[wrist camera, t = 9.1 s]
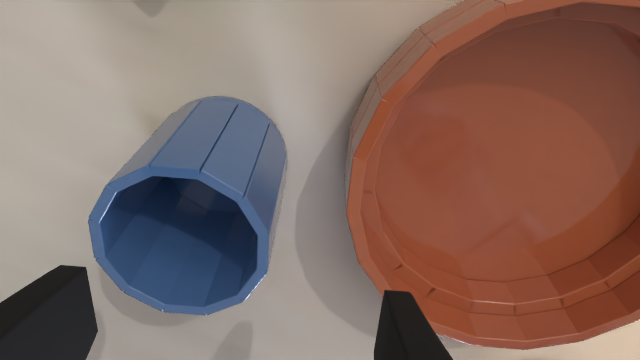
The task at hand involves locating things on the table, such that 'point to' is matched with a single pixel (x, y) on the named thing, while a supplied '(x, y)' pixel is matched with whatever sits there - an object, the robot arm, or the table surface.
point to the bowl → (505, 171)
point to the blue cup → (194, 209)
